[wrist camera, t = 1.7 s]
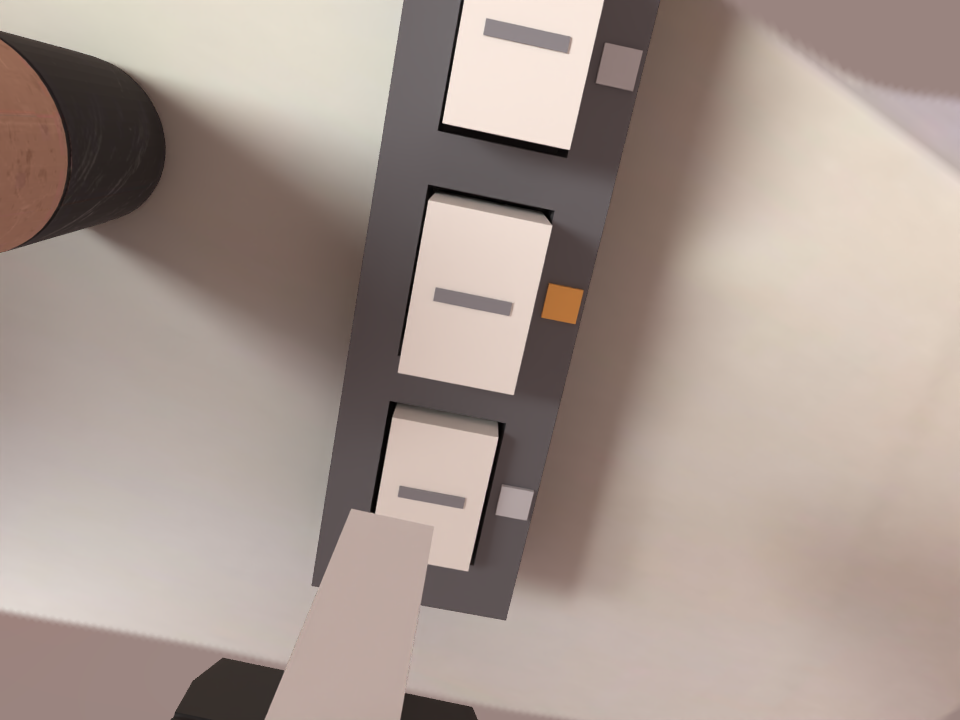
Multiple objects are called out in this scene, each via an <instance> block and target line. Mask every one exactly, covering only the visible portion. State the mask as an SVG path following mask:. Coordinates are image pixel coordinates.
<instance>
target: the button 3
mask: <svg viewBox="0 0 960 720" xmlns="http://www.w3.org/2000/svg"><path fill="white" fill-rule="evenodd" d="M603 2H604V0H464V5H463V10H462V16H461V21H460V27H459V33H458V38H457V44H456V49H455V55H454V60H453V66H452V72H451V77H450V83H449V88H448V94H447V100H446V105H445V111H444V116H443V122H442V123H444V124H447V125H451V126H456V127H461V128H465V129H470V130H475V131H479V132H484V133H489V134H494V135H498V136H503V137H508V138H512V139H517V140H522V141H527V142H531V143H536V144H541V145H545V146H550V147H555V148H561V149H567V150H570V147H571V142H572V138H573V134H574V129H575V125H576V120H577V116H578V112H579V107H580V103H581V99H582V94H583V90H584V86H585V81H586V77H587V72H588V68H589V64H590V59H591V55H592V51H593V46H594V42H595V37H596V33H597V29H598V24H599V20H600V16H601V11H602V7H603Z"/></svg>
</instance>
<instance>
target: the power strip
mask: <svg viewBox="0 0 960 720" xmlns="http://www.w3.org/2000/svg"><path fill="white" fill-rule="evenodd" d="M659 3H660V0H604V2H603V7H602V11H601V16H600V20H599V24H598V29H597V33H596V37H595V42H594V46H593V51H592V55H591V59H590V64H589V68H588V72H587V77H586V81H585V86H584V90H583V94H582V99H581V103H580V107H579V112H578V116H577V120H576V125H575V129H574V134H573V138H572V142H571V147H570V150H567V149H561V148H555V147H550V146H545V145H541V144H536V143H531V142H527V141H522V140H517V139H512V138H508V137H503V136H498V135H494V134H489V133H484V132H479V131H475V130H470V129H465V128H461V127H456V126H451V125H447V124H444V123H442V122H443V116H444V111H445V105H446V100H447V94H448V88H449V83H450V77H451V72H452V66H453V60H454V55H455V49H456V44H457V38H458V33H459V27H460V21H461V16H462V10H463V5H464V0H404V2H403V8H402V15H401V21H400V27H399V34H398V40H397V46H396V53H395V59H394V66H393V72H392V78H391V85H390V91H389V97H388V104H387V110H386V116H385V123H384V129H383V135H382V142H381V148H380V154H379V161H378V167H377V173H376V180H375V186H374V193H373V199H372V205H371V212H370V218H369V224H368V231H367V237H366V243H365V250H364V256H363V262H362V269H361V275H360V281H359V288H358V294H357V300H356V307H355V313H354V320H353V326H352V332H351V339H350V345H349V351H348V358H347V364H346V370H345V377H344V383H343V389H342V396H341V402H340V408H339V415H338V421H337V427H336V434H335V440H334V447H333V453H332V459H331V466H330V472H329V478H328V485H327V491H326V497H325V504H324V510H323V516H322V523H321V529H320V535H319V542H318V548H317V554H316V561H315V567H314V574H313V580H312V586H316V587H319V586H320V584H321V581H322V579H323V576H324V574H325V572H326V569H327V567H328V564H329V562H330V559H331V557H332V554H333V552H334V550H335V547H336V545H337V542H338V540H339V537H340V535H341V533H342V530H343V528H344V525H345V523H346V520H347V518H348V516H349V513H350V511H351V509H355V510H360V511H365V512H369V513H374V514H375V512H376V506H377V501H378V495H379V489H380V484H381V478H382V473H383V467H384V462H385V456H386V451H387V445H388V440H389V434H390V428H391V423H392V417H393V414H394V411H395V408H396V405H397V402H399V403H404V404H409V405H414V406H419V407H425V408H430V409H435V410H440V411H445V412H451V413H456V414H461V415H466V416H472V417H477V418H482V419H487V420H492V421H498V442H497V446H496V451H495V455H494V459H493V464H492V468H491V473H490V477H489V481H488V486H487V490H486V495H485V499H484V504H483V508H482V512H481V517H480V521H479V526H478V530H477V534H476V539H475V543H474V548H473V552H472V556H471V561H470V565H469V570H468V571H463V570H457V569H452V568H446V567H441V566H435V565H430V564H428V565H427V571H426V576H425V582H424V588H423V593H422V599H421V605H422V606H428V607H434V608H439V609H445V610H450V611H456V612H462V613H467V614H473V615H478V616H484V617H490V618H495V619H501V620H506V618H507V614H508V610H509V606H510V602H511V598H512V594H513V590H514V586H515V582H516V578H517V574H518V570H519V566H520V562H521V558H522V554H523V550H524V546H525V542H526V538H527V533H528V529H529V525H530V521H531V517H532V513H533V509H534V505H535V501H536V497H537V493H538V489H539V485H540V481H541V477H542V473H543V469H544V465H545V461H546V457H547V453H548V449H549V445H550V441H551V437H552V433H553V429H554V425H555V421H556V417H557V413H558V409H559V405H560V401H561V397H562V393H563V389H564V385H565V381H566V377H567V373H568V369H569V365H570V361H571V357H572V353H573V349H574V345H575V341H576V337H577V333H578V329H579V325H580V320H581V316H582V312H583V308H584V304H585V300H586V296H587V292H588V288H589V284H590V280H591V276H592V272H593V268H594V264H595V260H596V256H597V252H598V248H599V244H600V240H601V236H602V232H603V228H604V224H605V220H606V216H607V212H608V208H609V204H610V200H611V196H612V192H613V188H614V184H615V180H616V176H617V172H618V168H619V164H620V160H621V156H622V152H623V148H624V144H625V140H626V136H627V132H628V128H629V124H630V120H631V116H632V112H633V107H634V103H635V99H636V95H637V91H638V87H639V83H640V79H641V75H642V71H643V67H644V63H645V59H646V55H647V51H648V47H649V43H650V39H651V35H652V31H653V27H654V23H655V19H656V15H657V11H658V7H659ZM437 190H439V191H444V192H449V193H454V194H458V195H463V196H468V197H473V198H478V199H482V200H487V201H492V202H497V203H502V204H507V205H511V206H516V207H521V208H526V209H531V210H536V211H540V212H542V213H543V214H544V215H545V217H546V218H547V219H548V221H549V222H550V223H551V225H552V230H551V234H550V238H549V243H548V247H547V252H546V256H545V260H544V265H543V269H542V273H541V278H540V282H539V287H538V291H537V295H536V300H535V304H534V308H533V313H532V317H531V322H530V326H529V330H528V335H527V339H526V343H525V348H524V352H523V356H522V361H521V365H520V370H519V374H518V378H517V383H516V387H515V391H514V395H510V394H505V393H500V392H495V391H489V390H484V389H479V388H474V387H469V386H464V385H459V384H453V383H448V382H443V381H438V380H433V379H428V378H422V377H417V376H412V375H407V374H402V373H398V368H399V362H400V357H401V351H402V345H403V340H404V334H405V329H406V323H407V317H408V312H409V306H410V301H411V295H412V289H413V284H414V278H415V273H416V267H417V262H418V256H419V250H420V245H421V239H422V234H423V228H424V222H425V217H426V211H427V206H428V200H429V199H430V198H431V197H432V196H433V195H434V193H435V192H436V191H437Z"/></svg>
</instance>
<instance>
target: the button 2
mask: <svg viewBox="0 0 960 720" xmlns="http://www.w3.org/2000/svg"><path fill="white" fill-rule="evenodd" d="M551 230H552V225H551V223H550V222H549V221H548V219H547V218H546V217H545V215H544V214H543V213H542V212H540V211H536V210H531V209H526V208H521V207H516V206H511V205H507V204H502V203H497V202H492V201H487V200H482V199H478V198H473V197H468V196H463V195H458V194H454V193H449V192H444V191H439V190H437V191H436V192H435V193H434V195H433V196H432V197H431V198H430V199H429V200H428V206H427V211H426V217H425V222H424V228H423V234H422V239H421V245H420V250H419V256H418V262H417V267H416V273H415V278H414V284H413V289H412V295H411V301H410V306H409V312H408V317H407V323H406V329H405V334H404V340H403V345H402V351H401V357H400V362H399V368H398V373H402V374H407V375H412V376H417V377H422V378H428V379H433V380H438V381H443V382H448V383H453V384H459V385H464V386H469V387H474V388H479V389H484V390H489V391H495V392H500V393H505V394H510V395H514V391H515V387H516V383H517V378H518V374H519V370H520V365H521V361H522V356H523V352H524V348H525V343H526V339H527V335H528V330H529V326H530V322H531V317H532V313H533V308H534V304H535V300H536V295H537V291H538V287H539V282H540V278H541V273H542V269H543V265H544V260H545V256H546V252H547V247H548V243H549V238H550V234H551Z"/></svg>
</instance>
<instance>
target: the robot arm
mask: <svg viewBox="0 0 960 720" xmlns="http://www.w3.org/2000/svg"><path fill="white" fill-rule="evenodd" d="M433 531H434V526H429V525H425V524H420V523H415V522H411V521H406V520H402V519H397V518H392V517H388V516H383V515H378V514H374V513H369V512H365V511H360V510H355V509H351V511H350V513H349V516H348V518H347V520H346V523H345V525H344V528H343V530H342V533H341V535H340V537H339V540H338V542H337V545H336V547H335V550H334V552H333V554H332V557H331V559H330V562H329V564H328V567H327V569H326V572H325V574H324V576H323V579H322V581H321V584H320V586H319V589H318V591H317V593H316V596H315V598H314V601H313V603H312V606H311V608H310V610H309V613H308V615H307V618H306V620H305V623H304V625H303V628H302V630H301V632H300V635H299V637H298V640H297V642H296V645H295V647H294V649H293V652H292V654H291V657H290V659H289V662H288V664H287V666H286V669H285V671H284V670H279V669H274V668H270V667H264V666H260V665H255V664H250V663H245V662H241V661H236V660H231V659H226V658H222V659H221V660H219V661H218V662H217V663H215V664H214V665H213V666H212V667H210V668H209V669H208V670H206V671H205V672H204V673H203V674H201V675H200V676H199V677H197V678H196V679H195V680H193V682H192V683H191V685H190V687H189V689H188V690H187V692H186V694H185V696H184V698H183V699H182V701H181V703H180V704H179V706H178V708H177V710H176V712H175V715H174V717H173V718H172V719H171V720H478V719H477V717H476V715H475V712H474V710H473V708H472V707H469V706H465V705H460V704H455V703H450V702H445V701H441V700H436V699H431V698H426V697H421V696H416V695H412V694H407V693H405V690H406V684H407V678H408V673H409V667H410V661H411V656H412V650H413V644H414V639H415V633H416V627H417V622H418V616H419V610H420V605H421V599H422V593H423V588H424V582H425V576H426V571H427V565H428V559H429V554H430V548H431V542H432V536H433Z"/></svg>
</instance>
